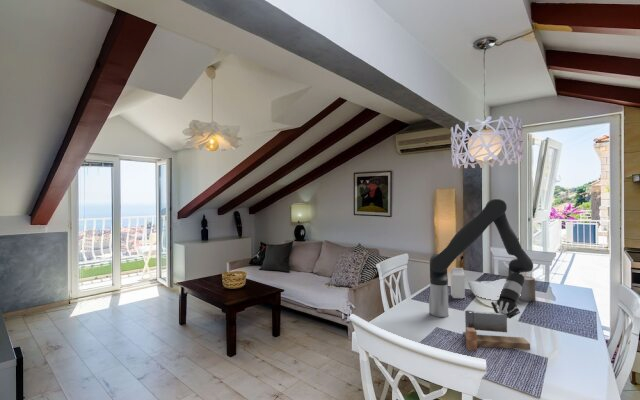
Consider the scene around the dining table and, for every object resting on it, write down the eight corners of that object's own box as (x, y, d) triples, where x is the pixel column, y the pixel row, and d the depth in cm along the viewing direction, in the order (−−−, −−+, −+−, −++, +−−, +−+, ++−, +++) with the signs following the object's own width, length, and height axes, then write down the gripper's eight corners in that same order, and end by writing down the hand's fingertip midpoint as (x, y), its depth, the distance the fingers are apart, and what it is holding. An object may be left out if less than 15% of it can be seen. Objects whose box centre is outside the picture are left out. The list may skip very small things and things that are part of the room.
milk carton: (465, 298, 200) (464, 269, 200) (453, 298, 202) (452, 268, 202) (462, 295, 207) (461, 266, 207) (450, 295, 209) (450, 266, 209)
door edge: (468, 350, 133) (468, 331, 133) (457, 331, 151) (457, 315, 151) (535, 354, 128) (535, 335, 128) (515, 335, 147) (515, 318, 147)
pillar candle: (532, 297, 201) (531, 274, 201) (537, 302, 192) (536, 277, 192) (515, 296, 204) (514, 273, 204) (519, 301, 195) (518, 276, 195)
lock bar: (466, 334, 146) (466, 312, 146) (464, 331, 150) (464, 310, 150) (507, 338, 142) (507, 315, 142) (505, 335, 145) (504, 312, 145)
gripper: (494, 285, 157) (482, 315, 150) (523, 291, 146) (511, 323, 139) (499, 293, 160) (487, 323, 153) (528, 300, 149) (517, 332, 142)
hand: (499, 323), depth 146 cm, fingers closed
